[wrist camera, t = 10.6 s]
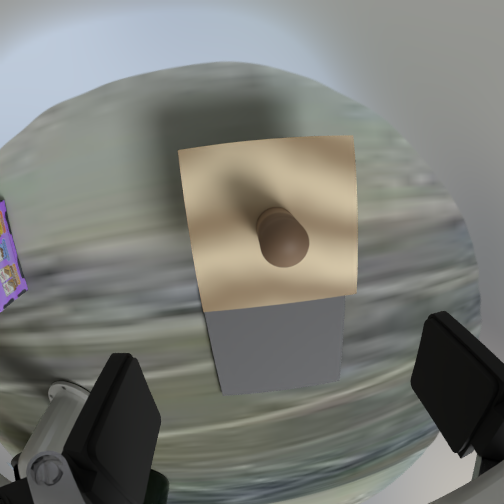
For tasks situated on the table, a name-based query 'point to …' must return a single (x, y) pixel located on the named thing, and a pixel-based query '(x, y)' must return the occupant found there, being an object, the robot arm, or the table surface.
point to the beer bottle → (156, 489)
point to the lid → (272, 220)
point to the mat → (277, 345)
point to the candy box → (9, 264)
